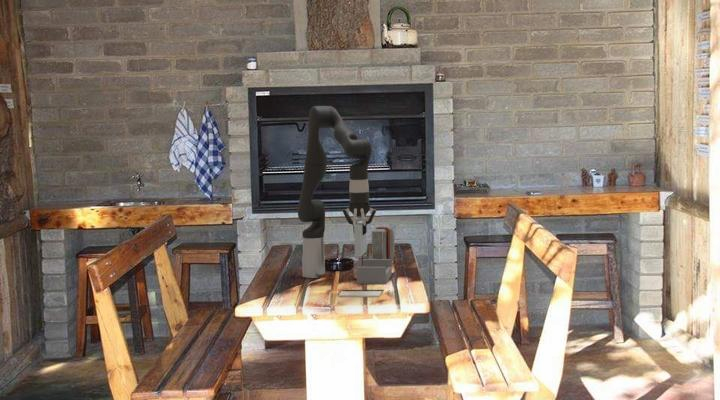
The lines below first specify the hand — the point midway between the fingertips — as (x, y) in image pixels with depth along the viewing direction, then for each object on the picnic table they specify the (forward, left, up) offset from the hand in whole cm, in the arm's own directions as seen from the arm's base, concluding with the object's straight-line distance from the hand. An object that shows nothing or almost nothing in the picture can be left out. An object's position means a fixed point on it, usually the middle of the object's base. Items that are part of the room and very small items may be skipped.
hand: (360, 234), depth 351 cm
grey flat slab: (0, 0, -8) cm, 8 cm away
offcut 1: (-2, +21, -20) cm, 29 cm away
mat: (0, 0, -23) cm, 23 cm away
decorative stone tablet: (+2, +50, -24) cm, 55 cm away
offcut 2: (-2, +21, -22) cm, 30 cm away
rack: (+2, +21, -23) cm, 31 cm away
